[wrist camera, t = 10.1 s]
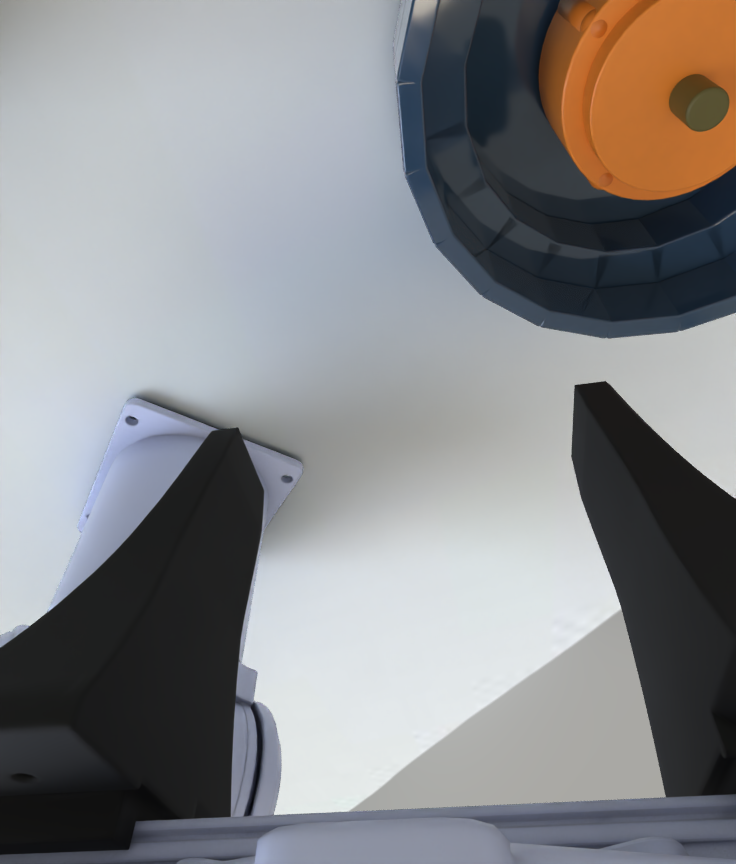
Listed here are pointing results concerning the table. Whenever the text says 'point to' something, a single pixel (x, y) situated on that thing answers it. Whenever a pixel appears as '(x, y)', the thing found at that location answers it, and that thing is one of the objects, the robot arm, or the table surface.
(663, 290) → the bowl
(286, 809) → the table surface
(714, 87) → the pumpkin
